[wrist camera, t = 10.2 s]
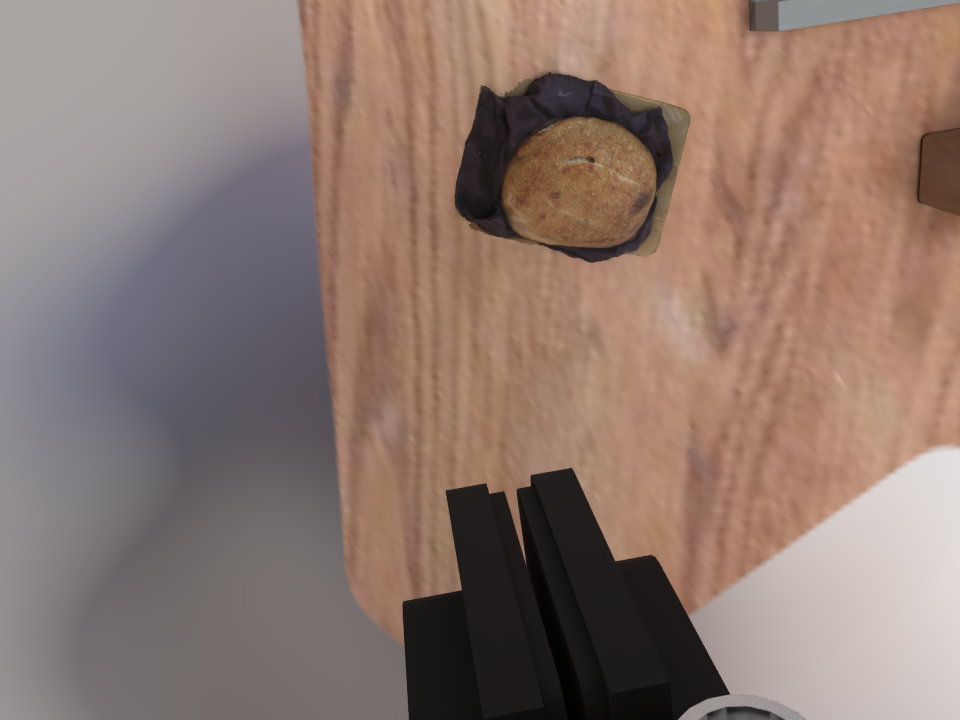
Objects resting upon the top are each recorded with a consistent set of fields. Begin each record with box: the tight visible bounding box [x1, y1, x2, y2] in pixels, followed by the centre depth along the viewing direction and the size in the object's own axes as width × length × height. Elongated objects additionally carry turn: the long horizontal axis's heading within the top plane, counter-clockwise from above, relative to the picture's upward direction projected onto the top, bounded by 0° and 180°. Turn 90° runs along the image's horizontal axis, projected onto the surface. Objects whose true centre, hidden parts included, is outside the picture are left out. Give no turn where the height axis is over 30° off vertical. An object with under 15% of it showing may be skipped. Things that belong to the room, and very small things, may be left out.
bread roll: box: [455, 72, 690, 263], centre depth 41 cm, size 11×8×4 cm
